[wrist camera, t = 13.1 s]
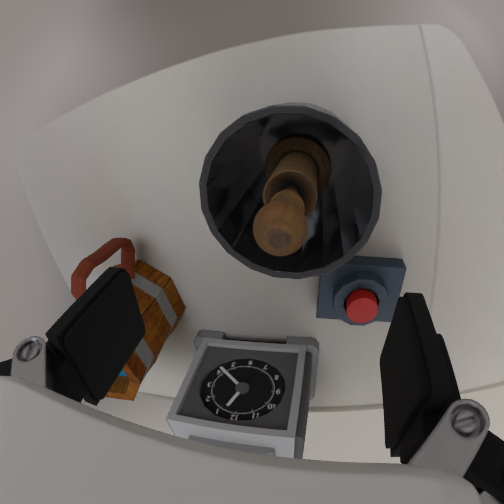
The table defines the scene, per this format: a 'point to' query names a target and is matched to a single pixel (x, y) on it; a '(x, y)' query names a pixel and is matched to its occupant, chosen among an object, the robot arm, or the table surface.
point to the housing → (361, 287)
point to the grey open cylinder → (254, 180)
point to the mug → (150, 304)
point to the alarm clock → (247, 394)
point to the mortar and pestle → (290, 193)
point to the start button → (361, 306)
